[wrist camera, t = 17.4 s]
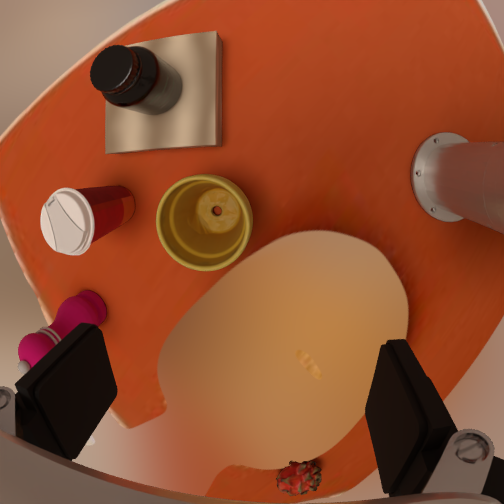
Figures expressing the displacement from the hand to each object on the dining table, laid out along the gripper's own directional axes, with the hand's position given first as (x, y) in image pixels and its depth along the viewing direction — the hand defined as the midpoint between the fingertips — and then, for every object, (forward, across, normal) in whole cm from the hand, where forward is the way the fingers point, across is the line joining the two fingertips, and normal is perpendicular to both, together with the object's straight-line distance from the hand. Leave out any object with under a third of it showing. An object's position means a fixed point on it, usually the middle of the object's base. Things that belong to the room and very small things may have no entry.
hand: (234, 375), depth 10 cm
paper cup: (+34, +22, -1) cm, 40 cm away
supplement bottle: (+30, +14, -16) cm, 36 cm away
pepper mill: (+34, +30, +16) cm, 48 cm away
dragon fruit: (+34, -7, +53) cm, 63 cm away
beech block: (+33, +14, -16) cm, 40 cm away
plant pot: (+34, +7, 0) cm, 34 cm away
